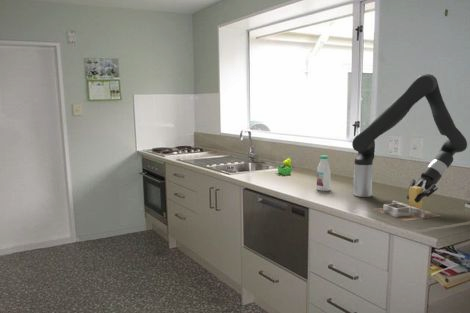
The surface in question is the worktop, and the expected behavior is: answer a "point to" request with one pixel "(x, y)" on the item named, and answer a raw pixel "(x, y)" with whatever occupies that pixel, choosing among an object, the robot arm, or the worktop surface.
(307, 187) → the worktop surface
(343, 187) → the worktop surface
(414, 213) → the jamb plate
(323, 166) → the milk bottle
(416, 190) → the block
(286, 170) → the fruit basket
